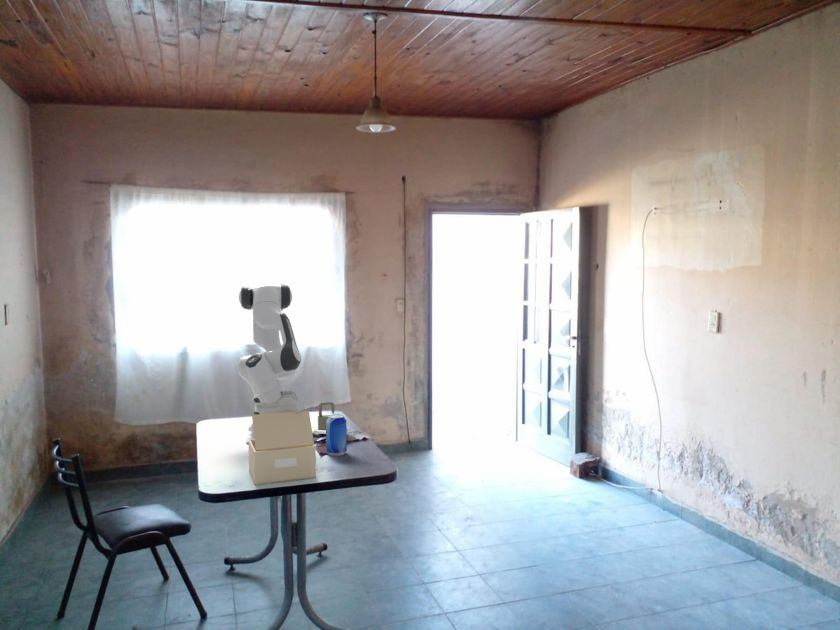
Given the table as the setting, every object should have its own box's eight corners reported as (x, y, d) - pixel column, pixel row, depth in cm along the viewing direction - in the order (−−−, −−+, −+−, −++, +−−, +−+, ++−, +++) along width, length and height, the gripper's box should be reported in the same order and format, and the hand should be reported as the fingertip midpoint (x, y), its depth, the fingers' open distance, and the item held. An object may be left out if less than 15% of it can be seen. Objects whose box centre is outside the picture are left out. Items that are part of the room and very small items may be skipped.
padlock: (336, 433, 311) (335, 402, 310) (318, 434, 309) (318, 403, 308) (335, 431, 315) (334, 400, 314) (317, 432, 313) (317, 401, 312)
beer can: (332, 457, 272) (332, 419, 271) (322, 453, 279) (322, 415, 278) (350, 454, 277) (350, 416, 276) (340, 449, 284) (340, 412, 283)
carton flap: (252, 415, 245) (252, 415, 245) (308, 411, 253) (308, 410, 252) (255, 450, 238) (255, 449, 237) (313, 444, 245) (314, 444, 245)
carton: (249, 470, 255) (248, 440, 254) (306, 464, 262) (305, 434, 262) (255, 485, 238) (254, 452, 237) (316, 478, 246) (315, 446, 245)
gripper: (297, 385, 250) (313, 414, 255) (257, 390, 260) (273, 418, 265) (289, 395, 245) (305, 425, 250) (248, 400, 255) (264, 428, 260)
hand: (288, 421), depth 258 cm, fingers closed
